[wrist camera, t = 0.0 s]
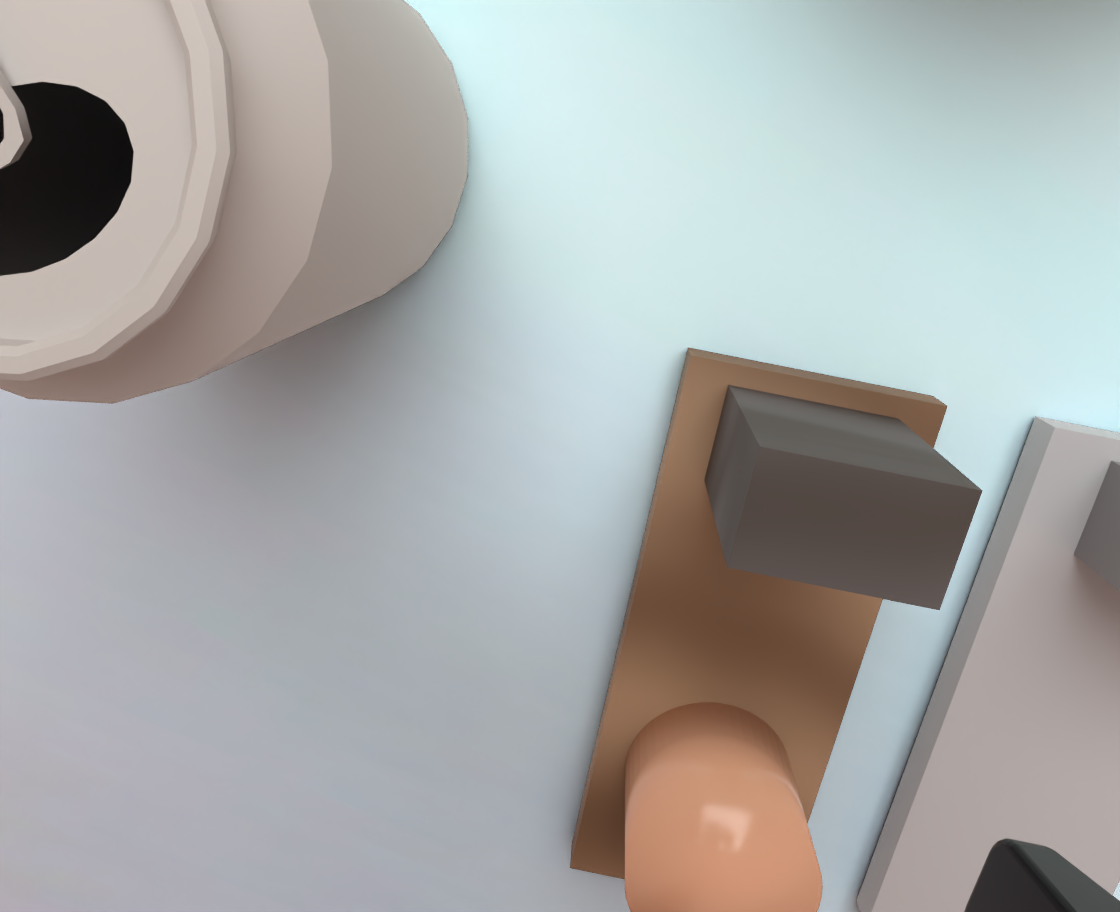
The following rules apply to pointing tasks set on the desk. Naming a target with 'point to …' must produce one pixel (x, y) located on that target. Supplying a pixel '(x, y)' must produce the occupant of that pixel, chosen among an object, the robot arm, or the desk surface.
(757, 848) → the peach rounded knob
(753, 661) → the walnut strip
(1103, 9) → the desk surface
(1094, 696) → the grey strip
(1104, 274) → the desk surface
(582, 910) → the desk surface
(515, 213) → the desk surface
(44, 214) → the can
